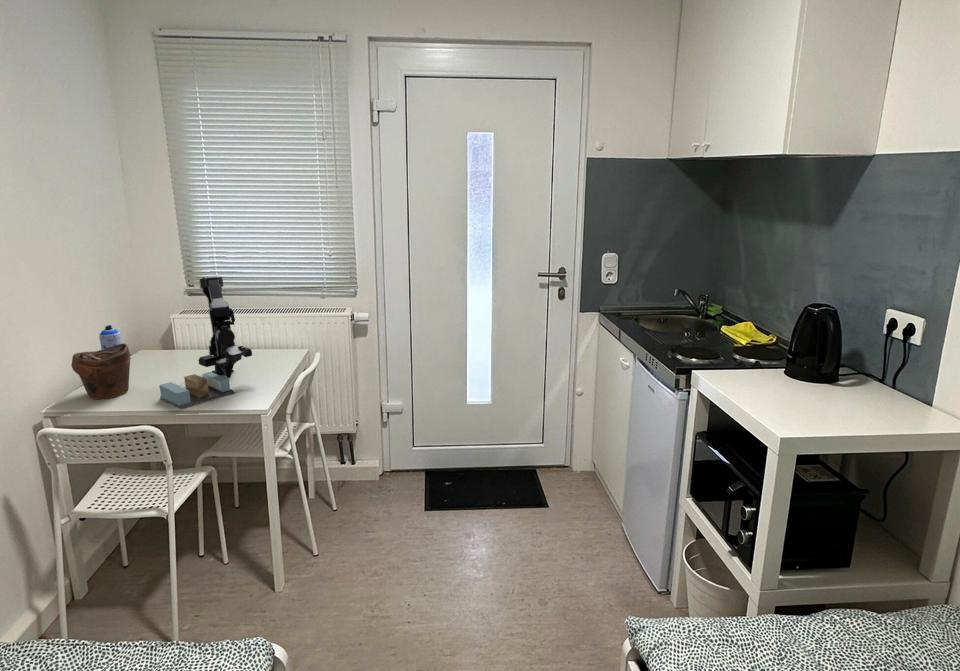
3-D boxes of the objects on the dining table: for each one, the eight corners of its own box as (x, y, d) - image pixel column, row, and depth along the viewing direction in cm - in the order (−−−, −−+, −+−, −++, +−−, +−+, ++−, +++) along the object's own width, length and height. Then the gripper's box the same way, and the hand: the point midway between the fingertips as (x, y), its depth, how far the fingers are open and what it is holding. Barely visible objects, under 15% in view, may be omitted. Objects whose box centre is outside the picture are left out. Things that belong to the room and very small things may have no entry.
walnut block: (198, 397, 226) (196, 381, 224) (186, 392, 231) (184, 376, 230) (208, 394, 229) (206, 378, 227) (196, 389, 234) (194, 374, 233)
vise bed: (160, 398, 228) (159, 396, 227) (213, 384, 242) (212, 381, 242) (180, 408, 218) (180, 406, 217) (234, 393, 232) (234, 390, 232)
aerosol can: (120, 375, 253) (112, 328, 248) (101, 376, 253) (92, 328, 248) (130, 369, 261) (123, 323, 256) (112, 370, 261) (104, 323, 256)
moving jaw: (203, 384, 238) (201, 374, 237) (211, 382, 241) (210, 371, 240) (221, 392, 230) (220, 381, 228) (230, 390, 232) (228, 379, 231)
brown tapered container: (64, 400, 226) (56, 353, 222) (109, 383, 245) (102, 339, 240) (104, 406, 222) (96, 357, 217) (147, 387, 240) (141, 342, 236)
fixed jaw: (161, 396, 227) (159, 385, 226) (173, 393, 230) (171, 381, 229) (179, 405, 218) (177, 393, 217) (191, 402, 221) (189, 390, 220)
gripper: (210, 347, 222) (216, 389, 226) (258, 336, 236) (262, 376, 240) (195, 342, 229) (200, 382, 233) (242, 332, 243) (246, 370, 247)
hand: (228, 378), depth 238 cm, fingers closed
